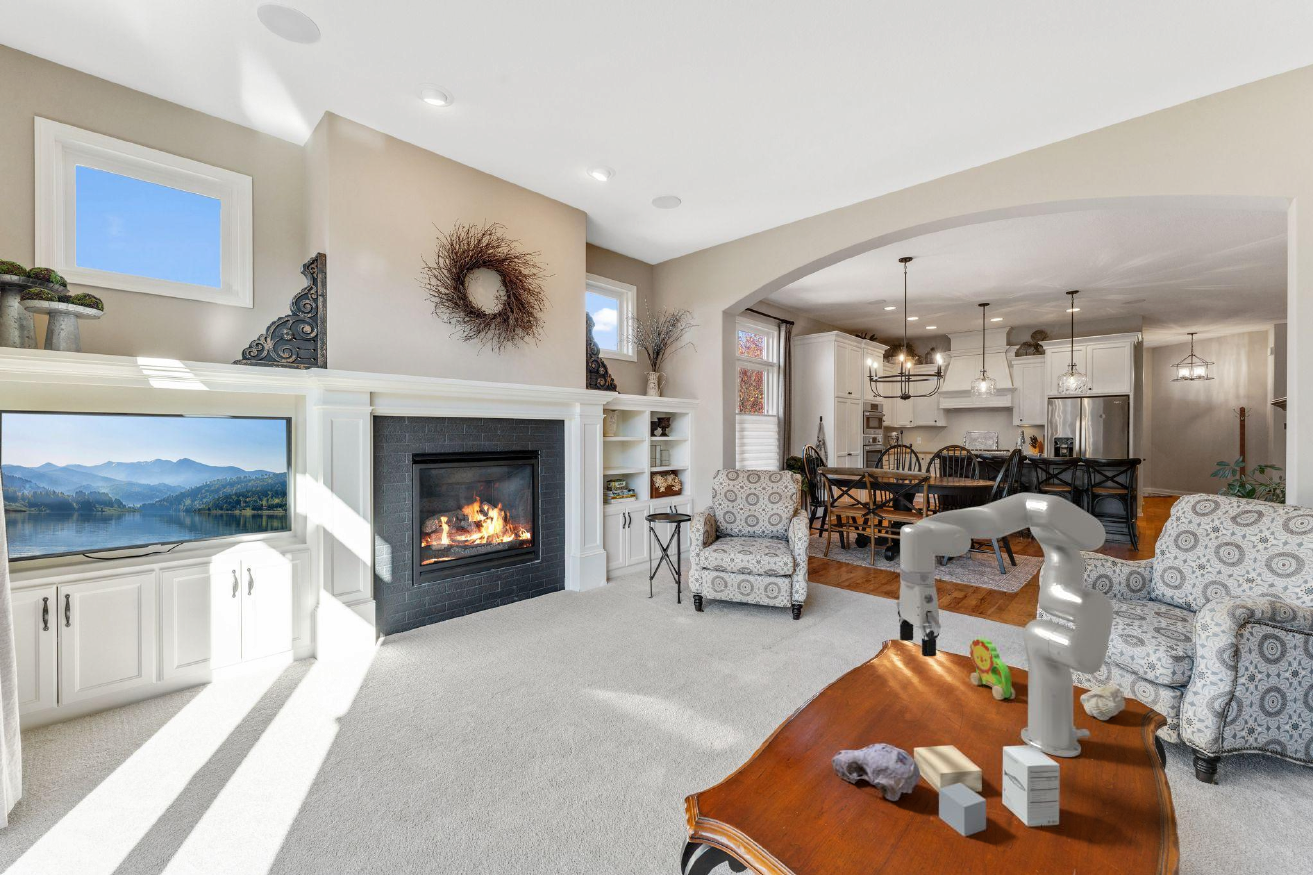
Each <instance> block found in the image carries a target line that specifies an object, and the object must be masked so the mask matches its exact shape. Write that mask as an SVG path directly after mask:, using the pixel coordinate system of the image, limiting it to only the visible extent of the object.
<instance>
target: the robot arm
mask: <svg viewBox="0 0 1313 875" xmlns="http://www.w3.org/2000/svg"><path fill="white" fill-rule="evenodd" d="M1026 528H1029V529H1030V532H1031V534H1032V536H1033V537H1034V538H1035V540H1036V541H1037V542H1038V544H1039V545H1040V547H1041V549H1042V552H1043V554H1044V567H1043V573H1042V577H1041V582H1040V589H1039V593H1038V599H1037V600H1038V606H1039V608H1040V609H1041V610H1042V611H1043V612H1044V613H1046V614H1048V615H1050V616H1052V617H1055V618H1057V619H1060V620H1064V621H1066V622H1070V623H1073V624H1075V626H1074V628H1072V627H1069V626H1067V625H1065V624H1062V623H1059V622H1056V621H1051V620H1048V619H1043V618H1041V619H1040V618H1039V619H1038V618H1037V619H1032V620H1031V621H1029V622H1028V623H1027V624H1026V625H1025V627H1024V630H1023V642H1024V648H1025V652H1026V655H1027V656H1026V658H1027V675H1028V676H1027V677H1028V678H1027V726H1026V727H1024V728H1022V729H1021V732H1020V738H1021V739H1022V740H1023V741H1024V743H1026V745H1033V746H1034V747H1036V748H1037V749H1038V750H1040V751H1041V752H1043V753H1044V754H1049V755H1051V756H1056V757H1061V758H1062V757H1063V758H1064V757H1065V758H1073V757H1076V756H1079V755H1081V751H1082V749H1081V748H1082V747H1081V744H1080V743H1079V742H1078V740H1079V739H1080V738H1083V739H1084V738H1090V737H1091V733H1090V731H1089V730H1088V729H1087V728H1086V729H1085V728H1079V729H1077V727H1076V726H1075V725H1074V679H1073V674H1072V671H1071V670H1074V671H1075V672H1079V673H1080V674H1081V673H1082V674H1085V675H1093V674H1096V673H1097V672H1099V671H1100V670H1101V669H1102V667H1103V665H1104V663H1105V661H1106V658H1107V653H1108V649H1109V648H1108V647H1109V642H1110V638H1111V632H1112V629H1113V628H1112V627H1113V623H1114V622H1113V621H1114V607H1113V604H1112V602H1111V600H1110V598H1109V597H1108V596H1107V595H1106V594H1104V593H1103V592H1101V591H1099V590H1097V589H1094V588H1090V587H1086V586H1084V580H1085V572H1086V563H1085V560H1084V557H1083V555H1082V552H1081V551H1085V552H1091V551H1096V550H1098V549H1099V548H1101V547H1102V546H1103V545H1104V543H1105V542H1106V536H1107V535H1106V529H1105V527H1104V526H1103V524H1102V522H1101V521H1100V520H1099V519H1098V518H1096V517H1095V516H1093V514H1090V513H1089V512H1087V511H1085V510H1084V509H1082V508H1080V507H1079V506H1078V505H1076V504H1074V503H1072V502H1071V501H1069V500H1067V499H1065V498H1063V497H1060V496H1058V495H1053V494H1052V495H1051V494H1044V493H1033V492H1020V493H1016V494H1012V495H1010V496H1007V497H1003V498H1001V499H999V500H995V501H992V502H989V503H986V504H984V505H980V506H974V507H973V506H972V507H966V508H962V509H953V510H949V511H948V510H947V511H943V512H939V513H936V514H933V515H929V516H927V517H924V518H921V519H920V520H918V521H917V522H916V523H914V524H905V525H903V526H901V528H900V530H899V532H900V534H899V535H900V537H899V538H900V539H899V540H900V541H899V543H900V544H899V547H900V548H899V549H900V550H899V551H900V552H899V557H900V558H899V559H900V561H899V562H900V565H899V570H900V572H899V573H900V574H899V575H900V576H899V579H900V580H899V581H900V587H899V588H900V589H899V598H898V599H899V600H898V601H897V602H896V607H897V615H898V617H899V618H898V623H899V639H900V641H903V642H905V641H906V642H908V641H910V642H911V641H913V640H914V627H916V628H918V629H920V632H921V634H922V638H921V656H923V657H936V656H937V641H938V640H939V638H938V637H939V636H940V631H941V628H942V625H941V623H940V614H939V612H940V611H939V609H940V608H939V600H938V592H937V589H936V586H935V585H936V584H935V583H936V582H935V581H936V580H935V579H936V578H935V577H936V575H935V574H936V572H935V569H936V567H935V566H936V565H935V564H936V556H942V557H951V558H953V557H954V558H955V557H961V556H962V555H965V554H966V553H967V552H968V551H969V550H970V548H971V545H972V540H971V539H975V540H976V539H977V540H978V539H979V540H993V539H995V540H996V539H1000V538H1002V537H1006V536H1008V535H1010V534H1014V533H1016V532H1018V531H1021V530H1024V529H1026ZM927 630H929V631H928V632H927Z"/></svg>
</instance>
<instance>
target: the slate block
mask: <svg viewBox="0 0 1313 875" xmlns="http://www.w3.org/2000/svg"><path fill="white" fill-rule="evenodd" d="M938 802H939V803H938V817H939V819H941V820H942V821H943V822H945V823H946V824H947V825H949V826H950V827H951V828H953V829H954V830H955V831H956V832H957V833H959V834H960V835H962V836H963V837H965V838H966V837H967V836H971V835H973V834H976V833H979V832H983V831H985V830H986V829H987V799H985V797H983V796H981V795H980V794H979V793H977V792H974V791H972V790H971V789H969V788H968V787H966V786H965V785H963V784H962V783H957V784H953V785H950V786H947V787H944V788H940V789H939V793H938Z"/></svg>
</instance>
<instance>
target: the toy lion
mask: <svg viewBox="0 0 1313 875" xmlns="http://www.w3.org/2000/svg"><path fill="white" fill-rule="evenodd" d="M969 656H970V658H971V662H972V664H973V665H974V666H975V670H976V671H975V672H971V674H970V677H969V678H970V681H971V683H972V684H973V685H974V684H975V685H974V686H981V685H986V686H989V687H991V689H992V690H991V692H992V695H993V697H994V698H995V699H996V700H998V701H999V700H1001V701H1002V700H1003V699H1005V698H1007V699H1008V700H1012V699H1013V700H1014V699H1015V697H1016V691H1015V689H1014V688H1013V687H1012V675H1011V672H1010V669H1009V668H1008V666H1007V664H1006V663H1005V661H1003V660H1002V659H1001V657H1000V654H999V651H997V647H996V646H995V645H994V644H993V643H992V641H991V639H986V638H983V637H982V638H976V639H972V640H971V643H970V644H969ZM998 670H999V672H1000V675H1001V677H1000V676H999V674H998Z"/></svg>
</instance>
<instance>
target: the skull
mask: <svg viewBox="0 0 1313 875" xmlns="http://www.w3.org/2000/svg"><path fill="white" fill-rule="evenodd" d="M831 766H832V768H833V774H835V773H836V771H837V774H838V775H837V776H838V777H839V778H841V779H843V780H845V781H847V782H850V783H853V784H855V783H856V782H858V780H860V779H863V780H866V781H867V782H869V783H870V784H871V785H874V786H875V787H876V788H877V790H879V792H880V793H881V794H882V796H884V797H885V798H886V799H887V800H889V801H892V802H896V801H899V798H900V797H901V794H902V793H905V794H906V793H907V794H912V793H913V791H914V790H915V786H916V785H917V784H918V783H919V782H920V781H921V774H920V770H919V768H918V765H917V763H916V762H915V761H914V757H912V756H911V754H909V752H907V751H906V750H904V749H901V748H898V747H895V746H894V745H891V744H888V743H874V744H870V745H868V746H865V747H863V748H861V749H857V750H856V749H854V750H853V749H848V750H847V749H843V750H840V751H837V753H836V754H835V755H834V757H832V758H831ZM860 775H862V776H860Z"/></svg>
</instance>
